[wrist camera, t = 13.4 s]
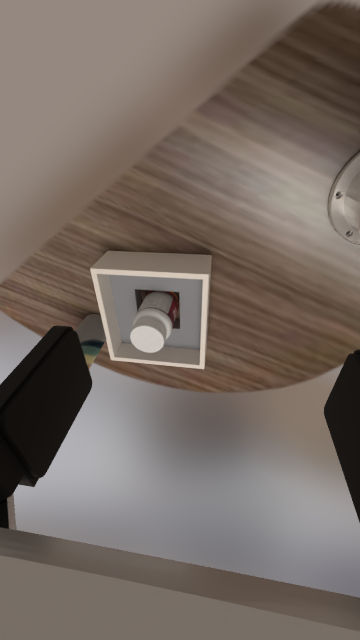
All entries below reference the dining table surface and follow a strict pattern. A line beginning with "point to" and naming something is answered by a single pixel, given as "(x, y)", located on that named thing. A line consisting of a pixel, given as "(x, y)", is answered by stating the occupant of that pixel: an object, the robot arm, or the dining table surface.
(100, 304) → the box
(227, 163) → the dining table surface
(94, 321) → the lotion bottle
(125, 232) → the dining table surface
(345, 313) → the dining table surface
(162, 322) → the pill bottle
